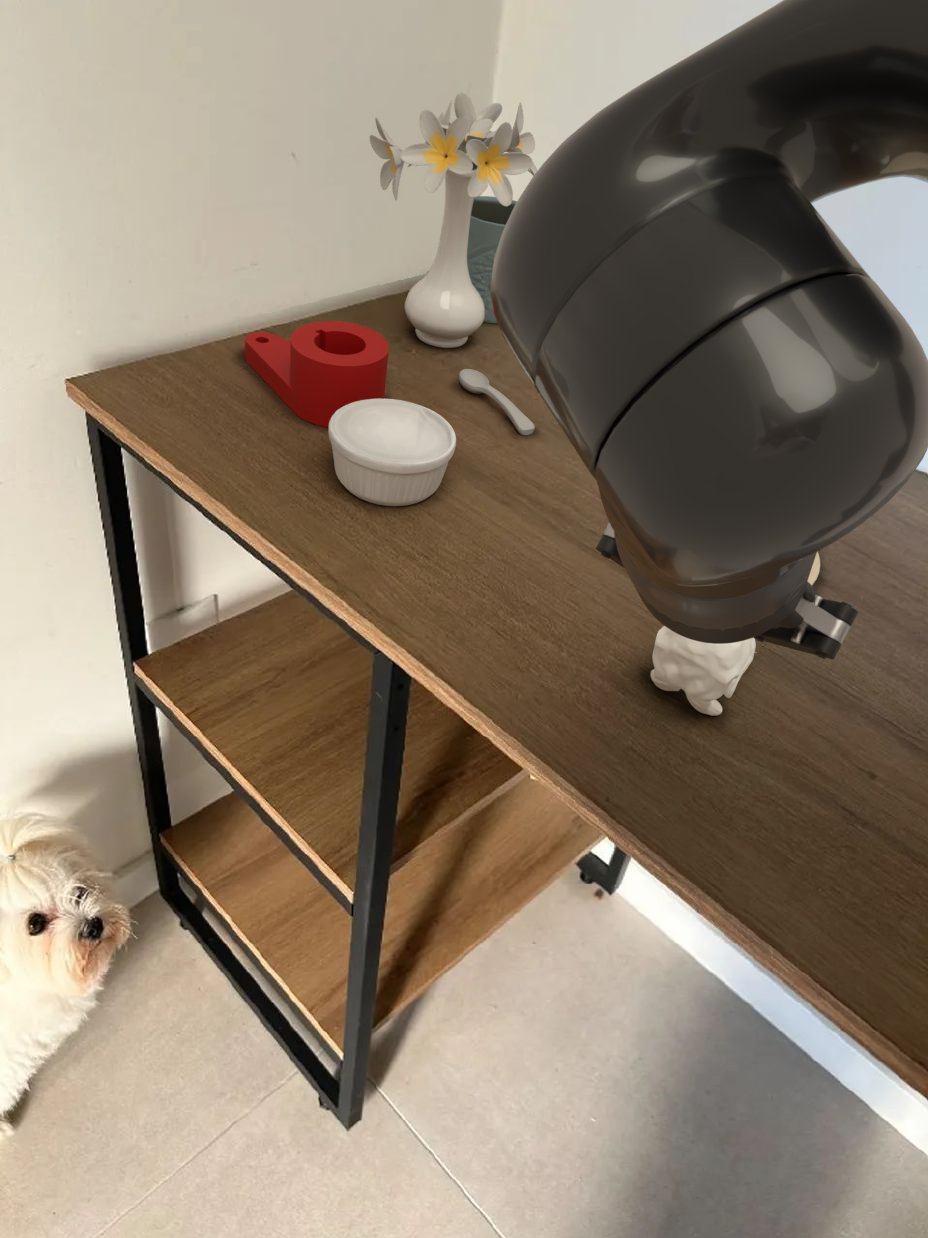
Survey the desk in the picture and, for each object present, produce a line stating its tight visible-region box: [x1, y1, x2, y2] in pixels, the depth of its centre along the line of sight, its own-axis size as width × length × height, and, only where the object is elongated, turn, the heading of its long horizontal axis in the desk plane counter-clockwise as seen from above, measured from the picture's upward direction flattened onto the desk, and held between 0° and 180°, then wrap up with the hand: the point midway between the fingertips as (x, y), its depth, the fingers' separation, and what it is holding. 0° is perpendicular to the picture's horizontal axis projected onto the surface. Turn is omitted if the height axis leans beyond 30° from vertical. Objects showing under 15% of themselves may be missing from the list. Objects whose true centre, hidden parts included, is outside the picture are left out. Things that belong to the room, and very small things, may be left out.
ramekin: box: [328, 398, 457, 507], centre depth 84 cm, size 11×11×5 cm
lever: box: [244, 320, 390, 429], centre depth 94 cm, size 18×9×7 cm, turn 49°
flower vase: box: [369, 92, 538, 349], centre depth 100 cm, size 13×18×25 cm
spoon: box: [458, 368, 536, 436], centre depth 98 cm, size 3×12×2 cm, turn 35°
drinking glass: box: [467, 195, 518, 324], centre depth 113 cm, size 10×10×12 cm
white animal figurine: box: [649, 625, 758, 717], centre depth 69 cm, size 6×8×12 cm
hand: (723, 611), depth 53 cm, fingers closed
